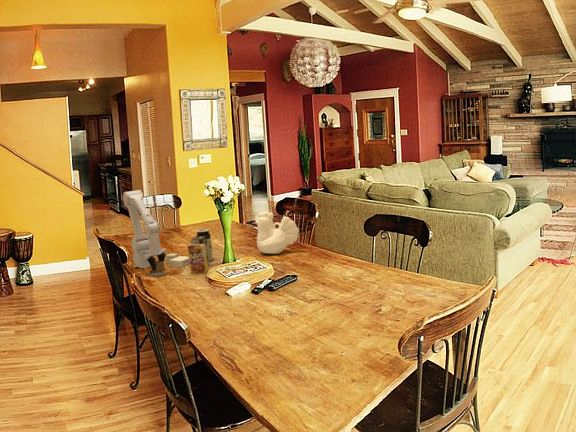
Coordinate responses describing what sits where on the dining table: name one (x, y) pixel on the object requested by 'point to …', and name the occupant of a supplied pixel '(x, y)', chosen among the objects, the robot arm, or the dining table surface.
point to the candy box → (197, 258)
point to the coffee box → (201, 241)
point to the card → (157, 274)
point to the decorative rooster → (275, 233)
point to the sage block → (171, 257)
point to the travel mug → (206, 233)
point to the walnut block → (158, 266)
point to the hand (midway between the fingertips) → (157, 268)
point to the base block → (179, 261)
